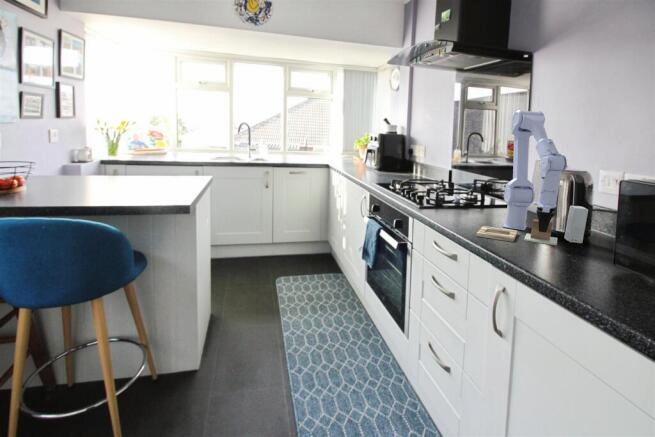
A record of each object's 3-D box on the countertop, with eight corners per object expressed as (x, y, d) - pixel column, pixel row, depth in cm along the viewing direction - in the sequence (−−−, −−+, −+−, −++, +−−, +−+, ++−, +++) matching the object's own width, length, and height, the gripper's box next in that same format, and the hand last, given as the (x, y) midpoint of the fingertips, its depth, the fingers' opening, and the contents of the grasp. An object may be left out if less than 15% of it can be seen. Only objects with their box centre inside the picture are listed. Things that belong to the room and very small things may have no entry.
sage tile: (526, 234, 160) (526, 233, 160) (557, 239, 156) (557, 237, 156) (524, 240, 152) (524, 238, 151) (556, 245, 147) (556, 243, 147)
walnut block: (530, 235, 157) (533, 219, 155) (549, 238, 154) (552, 221, 153) (530, 237, 153) (533, 220, 152) (549, 240, 151) (552, 223, 149)
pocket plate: (482, 228, 166) (483, 225, 166) (517, 234, 161) (517, 230, 160) (476, 236, 154) (476, 232, 154) (513, 241, 149) (513, 238, 148)
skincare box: (582, 243, 152) (588, 209, 149) (569, 242, 153) (575, 208, 150) (576, 239, 158) (582, 206, 155) (563, 238, 159) (569, 205, 156)
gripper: (536, 187, 158) (530, 224, 161) (535, 191, 145) (529, 231, 148) (558, 189, 155) (551, 227, 158) (559, 194, 142) (552, 235, 145)
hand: (542, 229), depth 153 cm, fingers open, 7 cm apart
